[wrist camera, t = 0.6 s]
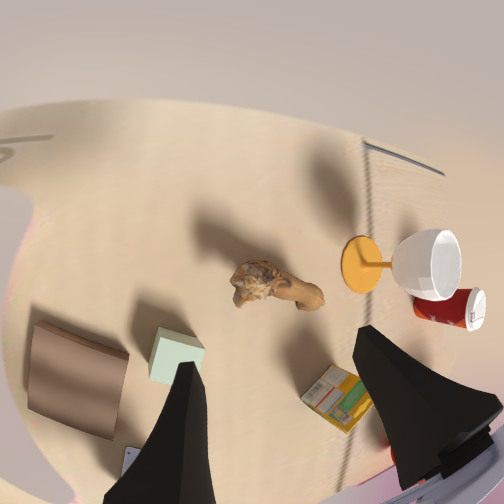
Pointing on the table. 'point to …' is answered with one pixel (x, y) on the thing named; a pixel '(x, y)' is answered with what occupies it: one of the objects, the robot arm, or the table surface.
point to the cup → (407, 264)
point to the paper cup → (455, 309)
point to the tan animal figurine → (273, 286)
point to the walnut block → (75, 380)
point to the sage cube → (173, 354)
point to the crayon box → (339, 398)
